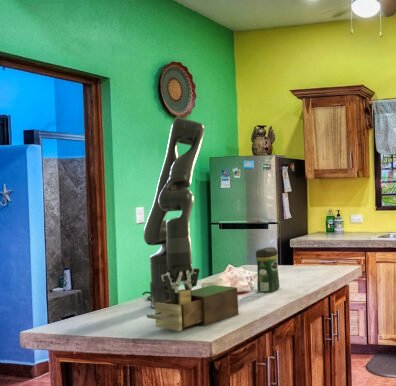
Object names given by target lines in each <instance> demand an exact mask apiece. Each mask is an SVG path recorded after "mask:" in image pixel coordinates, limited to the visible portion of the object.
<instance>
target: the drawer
mask: <svg viewBox="0 0 396 386" xmlns="http://www.w3.org/2000/svg"><path fill="white" fill-rule="evenodd" d="M146 318H147V319H151V320H155V327H156V328H161V329H166V330H172V331H178V332H180V331H183V328H188V327H191V326H193V325H198V324H197V323H200V322H203V306H202V299H199V298H191V302H189V303H185V304H182V305H175V304H173V303H172V302H171V300H169V301H165V302H163V303H160V302H157V303H155V308H154V313H147V314H146Z"/></svg>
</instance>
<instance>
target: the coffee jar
mask: <svg viewBox="0 0 396 386" xmlns="http://www.w3.org/2000/svg"><path fill="white" fill-rule="evenodd" d="M278 256H279V254H278V249H277V248H276V247H275V246H274V247H273V246H268V247H263V248H260V249H257V250H256V251H255V261H256V268H257V271H256V272H257V286H256V287H257V291H258V292H260V293H264V294H265V293H271V292H274V291H277V290H278V289H280V287H281V286H280V278H279V268H278V259H279V257H278Z"/></svg>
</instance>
